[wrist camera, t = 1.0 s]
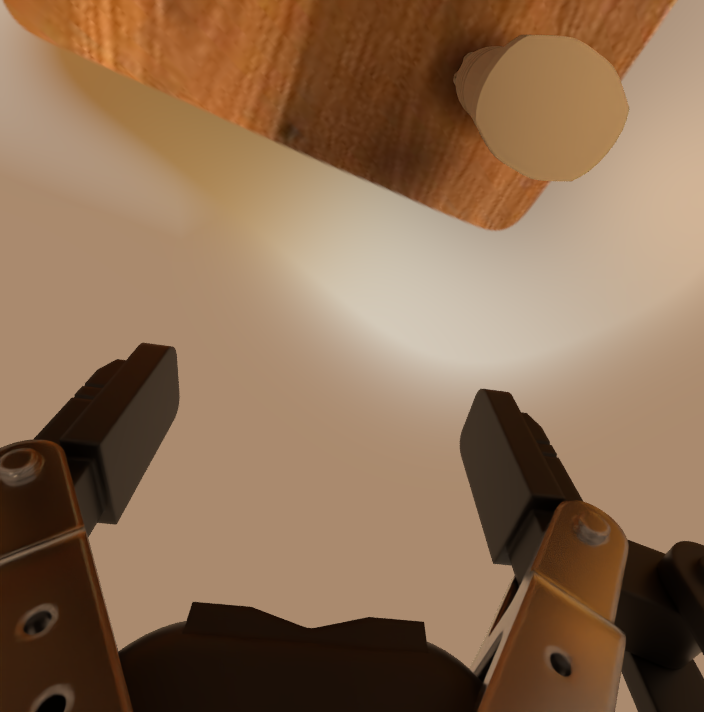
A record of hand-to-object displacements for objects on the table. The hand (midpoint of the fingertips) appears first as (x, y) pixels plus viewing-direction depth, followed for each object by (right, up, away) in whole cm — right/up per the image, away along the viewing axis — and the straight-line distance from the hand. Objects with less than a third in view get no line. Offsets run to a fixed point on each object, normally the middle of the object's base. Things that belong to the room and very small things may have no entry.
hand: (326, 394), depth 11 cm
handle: (+9, +20, +18) cm, 29 cm away
